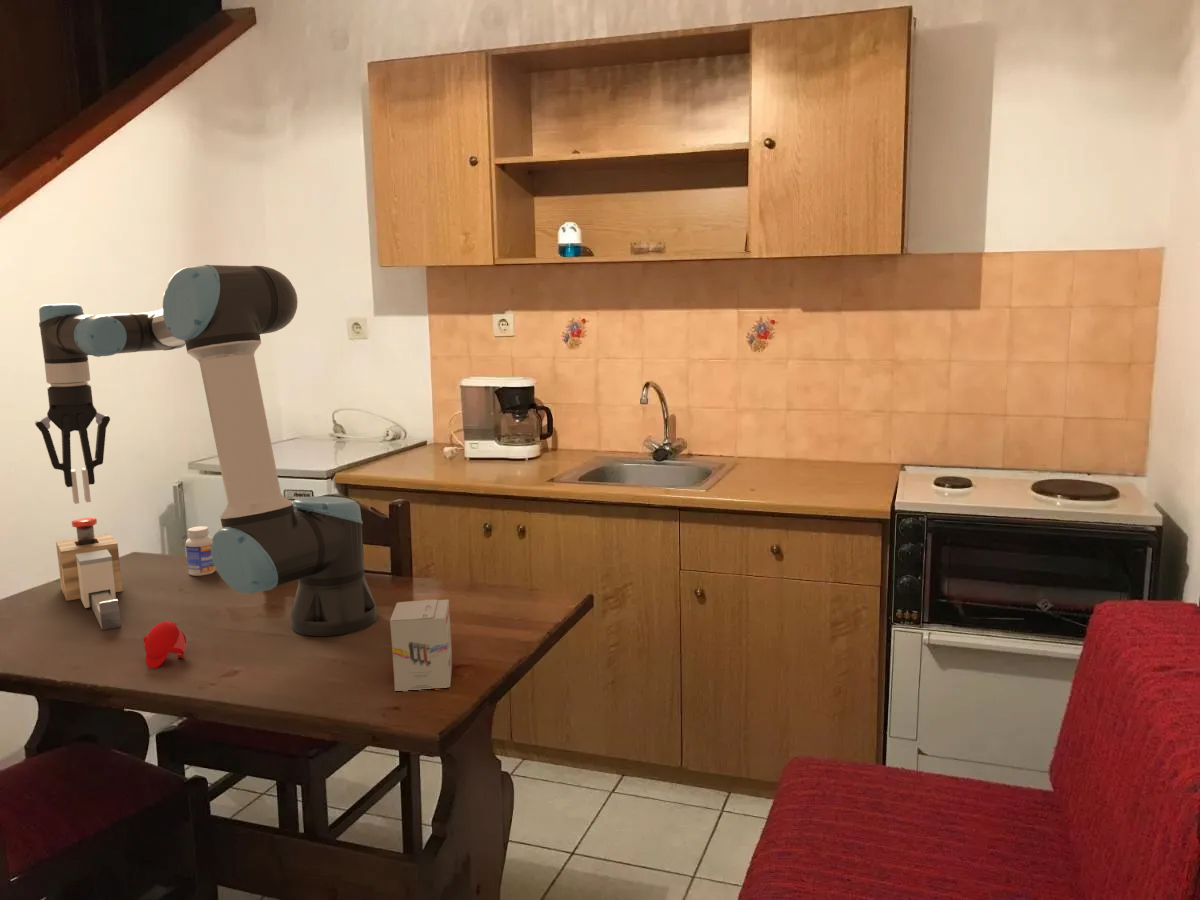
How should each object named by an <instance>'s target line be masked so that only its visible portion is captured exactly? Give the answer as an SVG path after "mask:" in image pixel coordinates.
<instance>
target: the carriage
mask: <svg viewBox="0 0 1200 900" xmlns="http://www.w3.org/2000/svg"><path fill="white" fill-rule="evenodd" d="M76 559H77V568H78V577H79V586H80V595H81V598H80V601H81V602H82V605H83V607H84V608H85V609H87V608H90V607H91V605H90V603H89V596H88V593H92V592H98V591H104V590H108V592H109V594H110V595H111V597H112V599H117V596H116V592H115V585H114V576H113V566H112V556H111V555H110V553H109V552H108V550H107V549H106V550H100V551H93V552H86V553H80V554H76Z"/></svg>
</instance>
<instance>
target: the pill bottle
mask: <svg viewBox="0 0 1200 900" xmlns="http://www.w3.org/2000/svg"><path fill="white" fill-rule="evenodd" d="M209 533H210V531H209V527H208V526H206V525H205V526H201V525H199V526H193V527H190V528H188V529H187V535H188V537H189V538H187V539H186V541H185V551H186V553H185V554H186V562H187V573H188V574H189V575H190V576H195V577H198V576H199V577H200V576H207V575H211V574H214V572H215V571H216V567H215V565H214V562H213V559H212V554H211V544H212V543H213V541H212V539H213V537H212V536H210V535H209Z"/></svg>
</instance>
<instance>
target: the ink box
mask: <svg viewBox="0 0 1200 900" xmlns="http://www.w3.org/2000/svg"><path fill="white" fill-rule="evenodd" d="M450 616H451V615H450V599H435V598H434V599H423V600H422V599H421V600H411V601H409V600H407V601H398V602H396V604H395V606H394V609H393V612H392V614H391V617H390V619H389V625H390V636H391V638H390V639H391V651H392V665H393V682H394V692H395V691H403V692H409V691H408V690H419V691H421V690H420V689H431V688H447V687H450V688H451V683H452V682H451V681H452V673H453V672H452V671H453V654H452V652H453V651H452V635H451V633H452V632H451V618H450Z"/></svg>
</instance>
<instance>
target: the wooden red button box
mask: <svg viewBox="0 0 1200 900" xmlns="http://www.w3.org/2000/svg"><path fill="white" fill-rule="evenodd" d="M94 537H95V544H88V545H81V546H79V545H78V538H70V539H64V540H62V539H61V540H57V541H55V544H56V553H57V555H56V556H57V562H58V569H59V570H58V571H59V578H60V580H59V581H60V588H61V591H62V593H63V596H64V598H65V600H66V601H73V600H79V599H80V600H81V595H80V586H79V577H78V568H77V559H76V554H80V553H86V552H93V551H100V550H106V549H107V550H108V552H109V553H110V555H111V556H112V566H113V576H114V585H115V593H119V592H123V583H122V574H121V573H122V572H121V563H120V562H121V561H120V554H119V543H118V542H117V540H116V539H115V538H114V535H112V533H106V534H97V535H94Z"/></svg>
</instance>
